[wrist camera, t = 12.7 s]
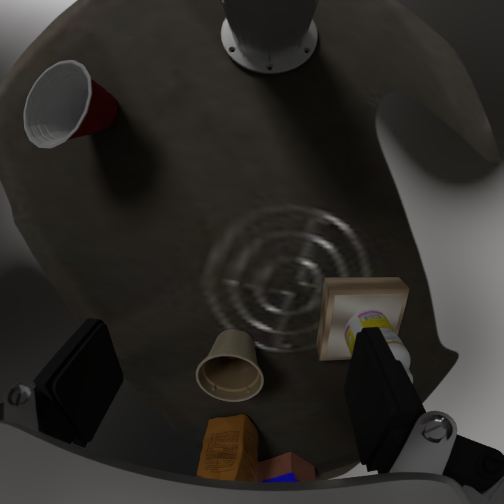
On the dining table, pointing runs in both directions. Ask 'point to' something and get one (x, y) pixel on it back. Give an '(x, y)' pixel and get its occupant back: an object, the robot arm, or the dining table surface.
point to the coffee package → (229, 449)
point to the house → (285, 469)
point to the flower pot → (231, 368)
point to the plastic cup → (66, 105)
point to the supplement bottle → (379, 320)
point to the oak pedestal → (356, 309)
